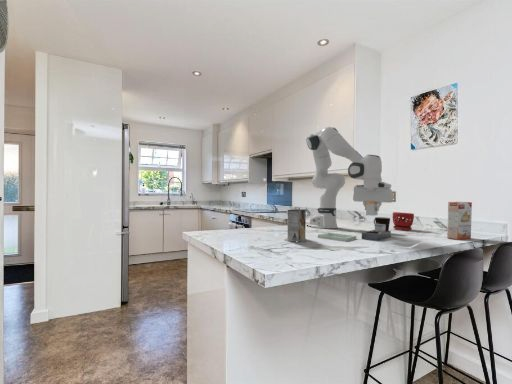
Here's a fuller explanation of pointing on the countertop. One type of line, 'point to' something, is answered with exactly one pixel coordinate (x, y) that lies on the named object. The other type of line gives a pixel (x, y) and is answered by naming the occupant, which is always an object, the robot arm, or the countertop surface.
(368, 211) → the plug
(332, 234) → the tray
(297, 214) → the coffee box
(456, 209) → the cracker box
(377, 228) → the twin plug
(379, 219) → the coffee mug
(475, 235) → the countertop surface
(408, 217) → the plant pot
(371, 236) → the power strip
